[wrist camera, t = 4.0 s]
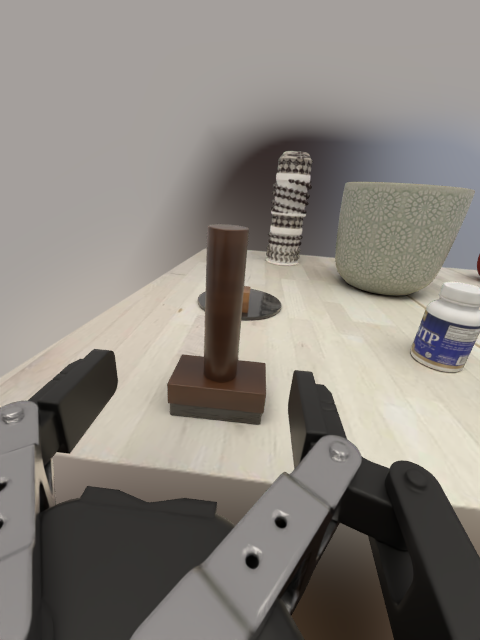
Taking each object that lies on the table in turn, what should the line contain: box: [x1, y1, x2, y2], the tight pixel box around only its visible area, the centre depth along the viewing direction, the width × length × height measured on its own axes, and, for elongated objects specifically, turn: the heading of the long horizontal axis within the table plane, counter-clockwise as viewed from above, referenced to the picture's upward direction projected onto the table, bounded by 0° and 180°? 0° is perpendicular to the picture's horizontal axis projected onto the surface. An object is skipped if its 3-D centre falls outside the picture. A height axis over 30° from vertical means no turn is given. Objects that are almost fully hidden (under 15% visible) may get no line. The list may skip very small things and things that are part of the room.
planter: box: [335, 182, 475, 296], centre depth 56 cm, size 21×21×19 cm
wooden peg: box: [167, 224, 266, 424], centre depth 21 cm, size 4×7×14 cm, turn 86°
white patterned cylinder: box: [266, 151, 313, 266], centre depth 70 cm, size 9×9×25 cm
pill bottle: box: [411, 282, 480, 372], centre depth 31 cm, size 5×5×9 cm
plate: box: [198, 289, 281, 320], centre depth 45 cm, size 13×13×1 cm
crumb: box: [242, 286, 250, 313], centre depth 41 cm, size 3×3×3 cm
